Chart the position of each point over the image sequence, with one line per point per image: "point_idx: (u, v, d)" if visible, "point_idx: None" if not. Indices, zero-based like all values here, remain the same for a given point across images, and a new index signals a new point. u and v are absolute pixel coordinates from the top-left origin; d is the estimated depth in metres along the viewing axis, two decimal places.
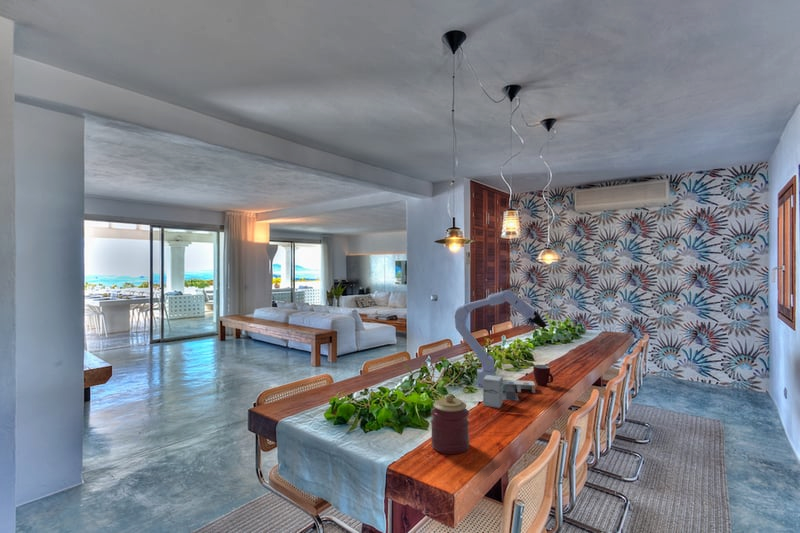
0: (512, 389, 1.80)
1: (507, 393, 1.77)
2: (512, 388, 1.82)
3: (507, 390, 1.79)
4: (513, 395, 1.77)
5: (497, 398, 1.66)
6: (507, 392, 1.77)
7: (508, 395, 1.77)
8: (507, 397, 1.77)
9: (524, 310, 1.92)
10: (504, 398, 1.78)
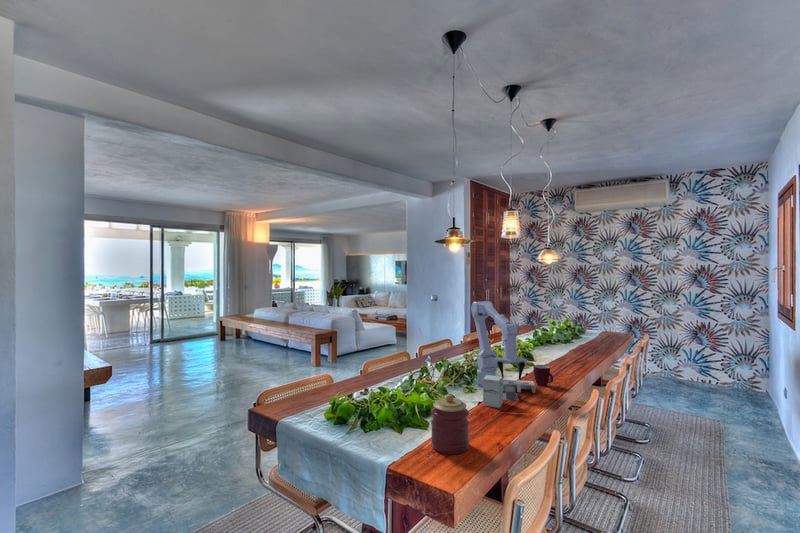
0: (512, 389, 1.80)
1: (507, 393, 1.77)
2: (512, 388, 1.82)
3: (507, 390, 1.79)
4: (513, 395, 1.77)
5: (497, 398, 1.66)
6: (507, 392, 1.77)
7: (508, 395, 1.77)
8: (507, 397, 1.77)
9: (504, 351, 1.82)
10: (504, 398, 1.78)
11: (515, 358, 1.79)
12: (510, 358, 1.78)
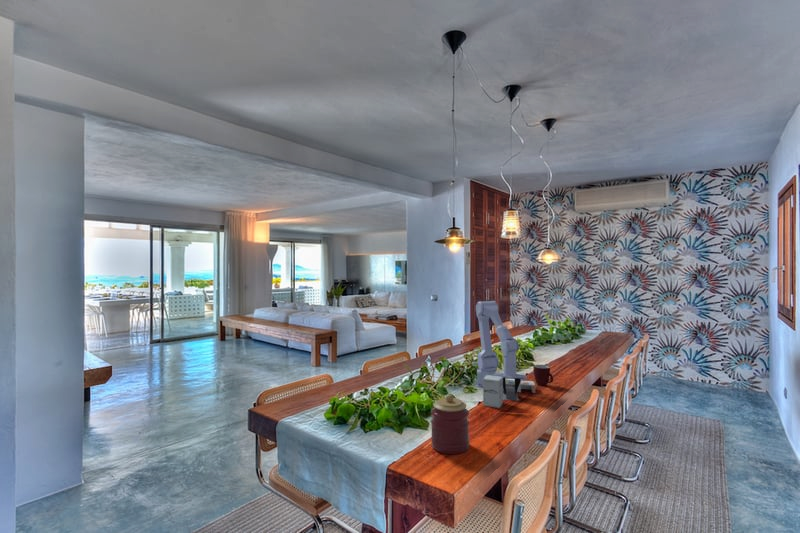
0: (512, 389, 1.80)
1: (507, 393, 1.77)
2: (512, 388, 1.82)
3: (507, 390, 1.79)
4: (513, 395, 1.77)
5: (497, 398, 1.66)
6: (507, 392, 1.77)
7: (508, 395, 1.77)
8: (507, 397, 1.77)
9: None
10: (504, 398, 1.78)
11: (514, 374, 1.79)
12: (509, 374, 1.78)
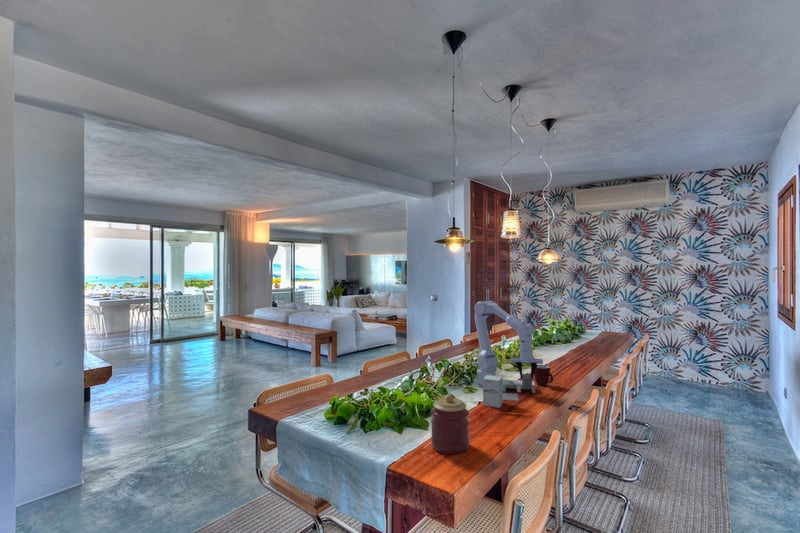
0: (528, 376, 1.80)
1: (524, 380, 1.78)
2: (528, 375, 1.82)
3: (524, 377, 1.79)
4: (530, 382, 1.77)
5: (497, 398, 1.66)
6: (524, 379, 1.78)
7: (525, 383, 1.78)
8: (524, 384, 1.78)
9: None
10: (504, 398, 1.78)
11: (531, 358, 1.79)
12: (526, 358, 1.79)
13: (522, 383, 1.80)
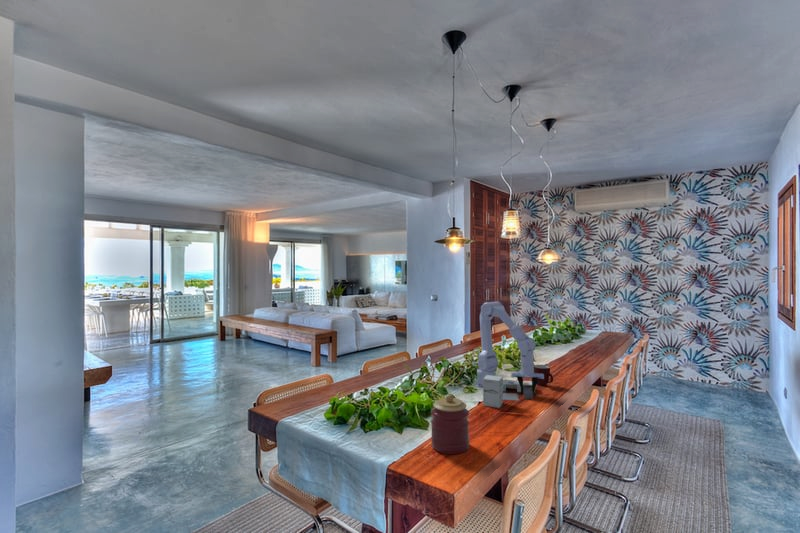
0: (530, 391, 1.80)
1: (525, 395, 1.78)
2: (529, 390, 1.82)
3: (525, 392, 1.79)
4: (531, 397, 1.77)
5: (497, 398, 1.66)
6: (525, 394, 1.78)
7: (526, 397, 1.77)
8: None
9: None
10: (504, 398, 1.78)
11: (532, 373, 1.79)
12: (527, 373, 1.79)
13: None
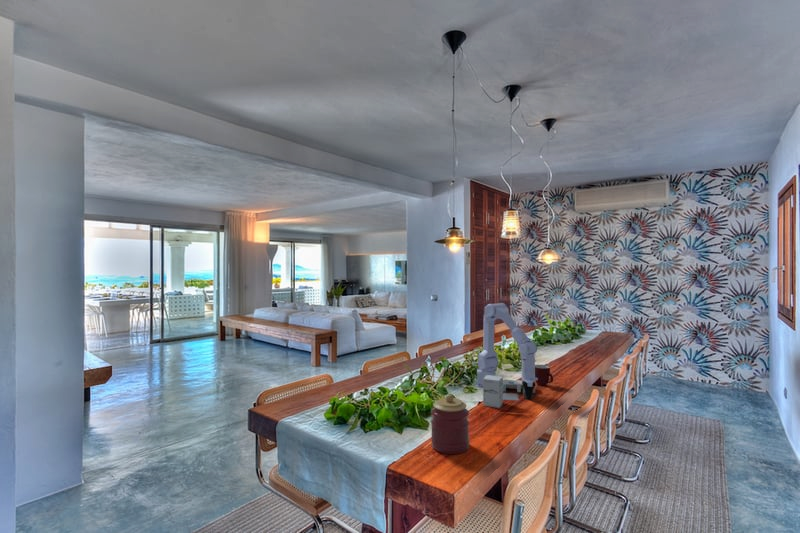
0: None
1: (525, 394, 1.78)
2: None
3: (524, 391, 1.80)
4: None
5: (497, 398, 1.66)
6: None
7: (525, 396, 1.78)
8: None
9: (527, 372, 1.74)
10: (504, 398, 1.78)
11: None
12: (534, 376, 1.76)
13: None
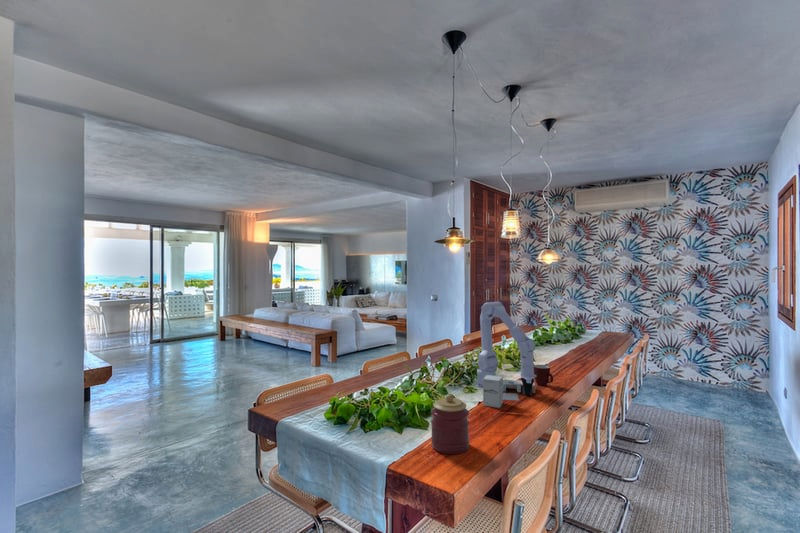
0: None
1: (524, 391, 1.83)
2: None
3: (523, 388, 1.85)
4: None
5: (497, 398, 1.66)
6: None
7: (524, 393, 1.83)
8: (524, 394, 1.83)
9: (526, 369, 1.79)
10: (504, 398, 1.78)
11: None
12: (533, 373, 1.81)
13: None
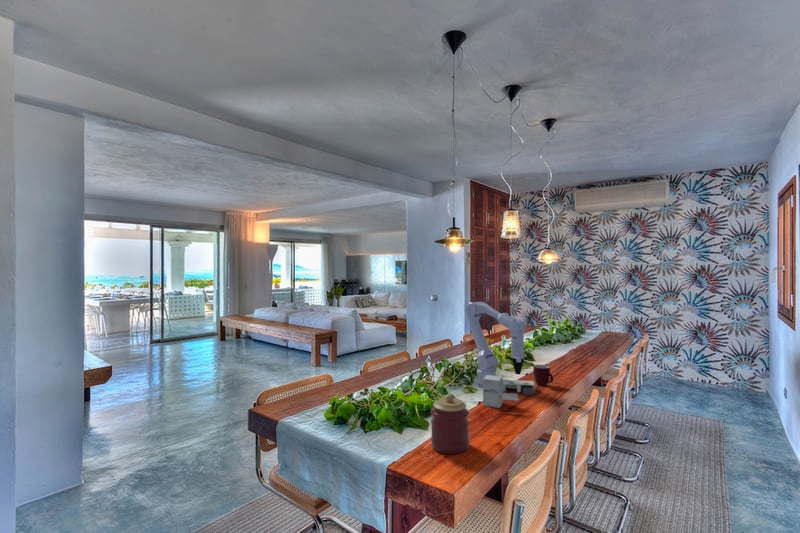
0: (528, 387, 1.86)
1: (525, 391, 1.83)
2: (528, 386, 1.88)
3: (525, 388, 1.84)
4: (531, 393, 1.83)
5: (497, 398, 1.66)
6: (525, 390, 1.83)
7: (526, 394, 1.83)
8: None
9: (517, 349, 1.83)
10: (504, 398, 1.78)
11: None
12: (523, 353, 1.85)
13: None
